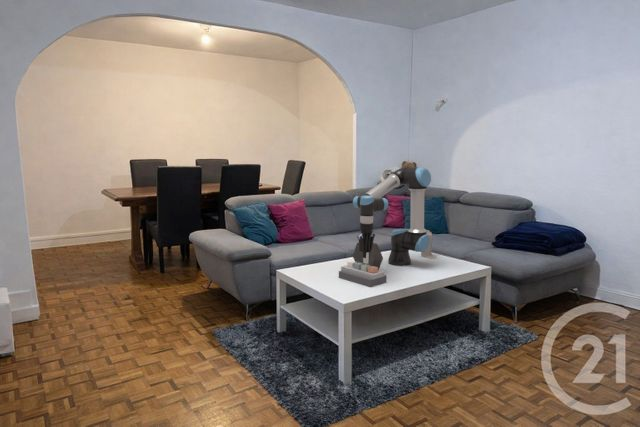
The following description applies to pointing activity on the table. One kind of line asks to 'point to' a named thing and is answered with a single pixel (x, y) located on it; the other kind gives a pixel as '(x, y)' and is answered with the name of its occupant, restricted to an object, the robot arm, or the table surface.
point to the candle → (428, 251)
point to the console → (362, 276)
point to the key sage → (365, 267)
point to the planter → (374, 256)
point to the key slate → (358, 265)
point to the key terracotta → (373, 269)
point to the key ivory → (351, 264)
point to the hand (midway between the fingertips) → (365, 263)
